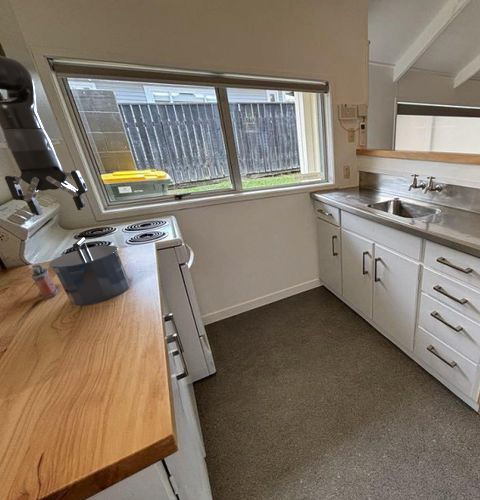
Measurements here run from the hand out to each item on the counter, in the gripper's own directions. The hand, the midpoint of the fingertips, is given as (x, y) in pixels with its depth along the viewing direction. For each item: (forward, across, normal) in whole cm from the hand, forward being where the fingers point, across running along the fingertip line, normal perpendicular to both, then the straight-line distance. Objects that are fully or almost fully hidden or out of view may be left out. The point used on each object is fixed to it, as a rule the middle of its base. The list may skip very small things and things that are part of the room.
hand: (60, 212), depth 76 cm
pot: (+27, 0, -3) cm, 27 cm away
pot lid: (+14, 0, -3) cm, 15 cm away
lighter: (+27, +15, -12) cm, 33 cm away
